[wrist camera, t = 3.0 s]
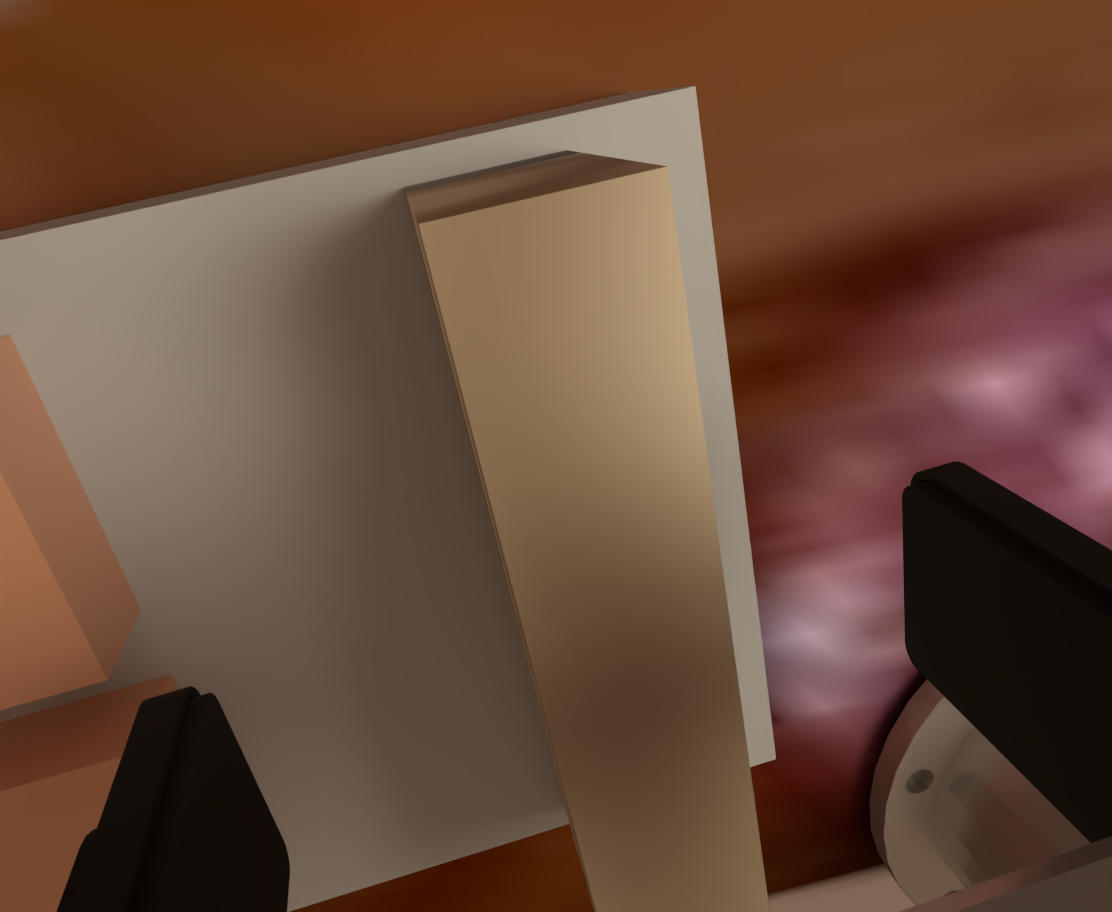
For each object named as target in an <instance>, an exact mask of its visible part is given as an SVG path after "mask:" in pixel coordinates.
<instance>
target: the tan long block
mask: <svg viewBox="0 0 1112 912" xmlns="http://www.w3.org/2000/svg"><path fill="white" fill-rule="evenodd" d="M403 188H404V192H405V196H406V199H407V203H408V207H409V211H410V215H411V219H412V222H413V226H414V230H415V234H416V238H417V242H418V245H419V249H420V253H421V257H422V261H423V265H424V268H425V272H426V276H427V280H428V284H429V288H430V291H431V295H432V299H433V303H434V307H435V311H436V314H437V318H438V322H439V326H440V330H441V334H442V337H443V341H444V345H445V349H446V353H447V357H448V360H449V364H450V368H451V372H452V376H453V380H454V383H455V387H456V391H457V395H458V399H459V403H460V406H461V410H462V414H463V418H464V422H465V426H466V429H467V433H468V437H469V441H470V445H471V449H472V452H473V456H474V460H475V464H476V468H477V472H478V475H479V479H480V483H481V487H482V491H483V495H484V498H485V502H486V506H487V510H488V514H489V518H490V521H491V525H492V529H493V533H494V537H495V541H496V544H497V548H498V552H499V556H500V560H501V564H502V567H503V571H504V575H505V579H506V583H507V587H508V590H509V594H510V598H511V602H512V606H513V610H514V613H515V617H516V621H517V625H518V629H519V633H520V636H521V640H522V644H523V648H524V652H525V656H526V659H527V663H528V667H529V671H530V675H531V679H532V682H533V686H534V690H535V694H536V698H537V702H538V705H539V709H540V713H541V717H542V721H543V725H544V728H545V732H546V736H547V740H548V744H549V747H550V751H551V755H552V759H553V763H554V767H555V770H556V774H557V778H558V782H559V786H560V790H561V793H562V797H563V801H564V805H565V809H566V812H567V816H568V820H569V823H570V827H571V830H572V834H573V838H574V841H575V845H576V849H577V852H578V856H579V859H580V863H581V867H582V870H583V874H584V878H585V881H586V885H587V888H588V892H589V896H590V899H591V903H592V907H593V910H594V912H770V909H769V902H768V895H767V887H766V880H765V873H764V865H763V858H762V851H761V844H760V836H759V829H758V822H757V814H756V807H755V800H754V793H753V785H752V778H751V771H750V763H749V756H748V749H747V741H746V734H745V727H744V720H743V712H742V705H741V698H740V690H739V683H738V676H737V668H736V661H735V654H734V647H733V639H732V632H731V625H730V617H729V610H728V603H727V595H726V588H725V581H724V574H723V566H722V559H721V552H720V544H719V537H718V530H717V523H716V515H715V508H714V501H713V493H712V486H711V479H710V471H709V464H708V457H707V450H706V442H705V435H704V428H703V420H702V413H701V406H700V398H699V391H698V384H697V377H696V369H695V362H694V355H693V347H692V340H691V333H690V326H689V318H688V311H687V304H686V296H685V289H684V282H683V274H682V267H681V260H680V253H679V245H678V238H677V231H676V223H675V216H674V209H673V201H672V194H671V187H670V180H669V172H668V166H662V165H656V164H650V163H644V162H637V161H631V160H625V159H619V158H612V157H606V156H600V155H594V154H587V153H581V152H575V151H569V150H565V151H561V152H556V153H552V154H547V155H543V156H539V157H534V158H530V159H525V160H521V161H516V162H512V163H508V164H503V165H499V166H494V167H490V168H486V169H481V170H477V171H472V172H468V173H463V174H459V175H455V176H450V177H446V178H441V179H437V180H433V181H428V182H424V183H419V184H415V185H410V186H406V187H403Z"/></svg>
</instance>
